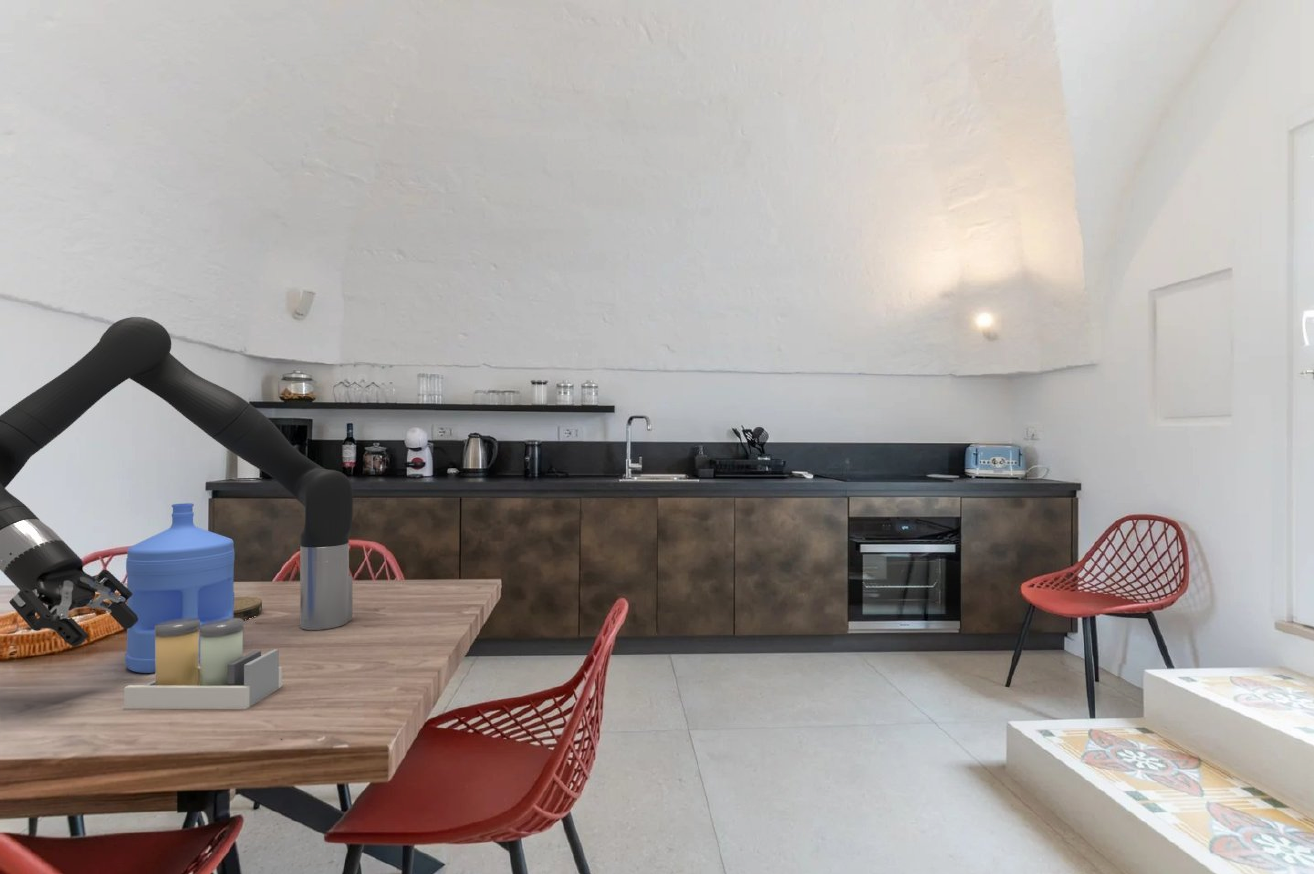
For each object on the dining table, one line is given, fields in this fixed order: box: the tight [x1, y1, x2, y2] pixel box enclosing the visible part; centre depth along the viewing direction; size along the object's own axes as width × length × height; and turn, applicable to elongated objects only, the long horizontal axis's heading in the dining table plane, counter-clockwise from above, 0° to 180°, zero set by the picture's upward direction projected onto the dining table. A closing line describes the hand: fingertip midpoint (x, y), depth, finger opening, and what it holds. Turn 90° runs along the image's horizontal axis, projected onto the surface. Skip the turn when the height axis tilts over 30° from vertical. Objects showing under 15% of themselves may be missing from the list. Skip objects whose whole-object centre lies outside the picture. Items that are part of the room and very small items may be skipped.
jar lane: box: [123, 648, 283, 710], centre depth 94 cm, size 18×8×7 cm, turn 89°
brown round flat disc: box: [233, 596, 263, 620], centre depth 140 cm, size 16×16×3 cm
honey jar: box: [154, 618, 200, 686], centre depth 94 cm, size 5×5×11 cm
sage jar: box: [199, 618, 245, 686], centre depth 94 cm, size 5×5×11 cm
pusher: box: [227, 650, 262, 686], centre depth 94 cm, size 2×6×6 cm, turn 179°
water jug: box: [124, 502, 236, 674], centre depth 113 cm, size 16×16×28 cm
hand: (108, 633), depth 94 cm, fingers open, 8 cm apart
